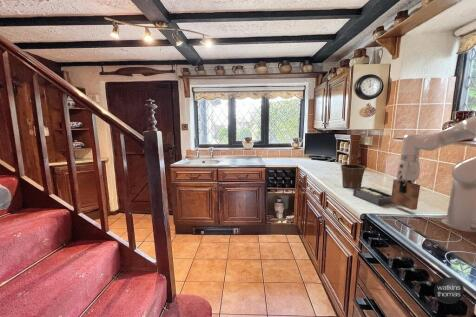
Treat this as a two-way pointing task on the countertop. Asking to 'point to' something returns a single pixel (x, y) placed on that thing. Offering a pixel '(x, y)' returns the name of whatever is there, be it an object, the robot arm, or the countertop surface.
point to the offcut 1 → (365, 191)
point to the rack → (373, 197)
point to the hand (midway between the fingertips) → (405, 191)
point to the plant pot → (352, 175)
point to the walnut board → (406, 195)
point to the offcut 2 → (375, 194)
